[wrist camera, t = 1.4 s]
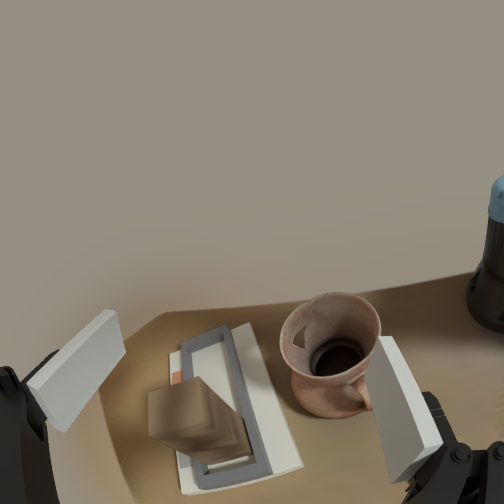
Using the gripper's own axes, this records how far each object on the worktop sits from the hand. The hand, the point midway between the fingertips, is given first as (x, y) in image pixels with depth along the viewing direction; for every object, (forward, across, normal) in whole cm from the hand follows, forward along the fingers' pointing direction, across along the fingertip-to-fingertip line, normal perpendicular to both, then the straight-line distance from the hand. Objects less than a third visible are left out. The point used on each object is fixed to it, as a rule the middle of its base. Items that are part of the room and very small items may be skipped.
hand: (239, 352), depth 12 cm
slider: (+12, -3, -28) cm, 30 cm away
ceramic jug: (+20, +13, -21) cm, 32 cm away
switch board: (+20, -5, -28) cm, 35 cm away
